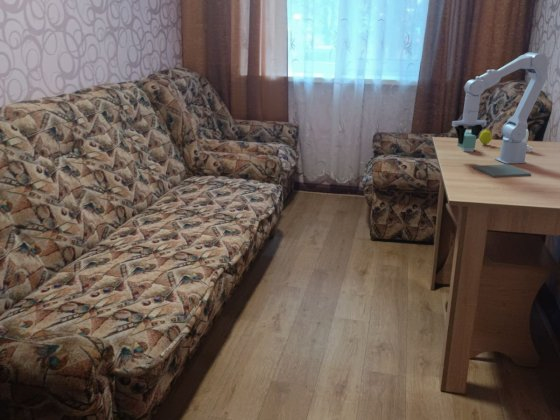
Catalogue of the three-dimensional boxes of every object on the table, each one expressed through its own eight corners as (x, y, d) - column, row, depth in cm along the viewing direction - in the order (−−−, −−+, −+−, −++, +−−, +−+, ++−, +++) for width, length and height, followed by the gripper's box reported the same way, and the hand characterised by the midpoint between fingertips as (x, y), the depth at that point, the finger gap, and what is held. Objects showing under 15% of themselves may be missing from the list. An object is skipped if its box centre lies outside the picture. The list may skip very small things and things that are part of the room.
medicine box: (473, 152, 240) (476, 133, 237) (463, 151, 241) (465, 132, 238) (471, 148, 247) (473, 129, 244) (461, 147, 248) (463, 129, 245)
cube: (468, 145, 224) (469, 133, 223) (474, 148, 220) (476, 136, 218) (457, 145, 223) (458, 133, 222) (463, 148, 219) (465, 136, 217)
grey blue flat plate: (508, 166, 218) (508, 164, 217) (530, 175, 205) (531, 173, 204) (472, 167, 214) (473, 165, 214) (493, 177, 201) (493, 175, 201)
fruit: (477, 145, 253) (480, 128, 250) (478, 143, 258) (481, 126, 255) (490, 146, 251) (492, 129, 248) (491, 144, 256) (493, 127, 253)
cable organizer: (532, 151, 243) (536, 130, 240) (510, 151, 243) (514, 129, 240) (527, 149, 248) (530, 127, 245) (505, 148, 248) (509, 127, 245)
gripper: (481, 108, 222) (476, 140, 226) (449, 109, 219) (445, 141, 223) (491, 111, 215) (486, 144, 220) (458, 111, 212) (454, 145, 217)
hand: (466, 143), depth 221 cm, fingers closed on cube, 5 cm apart
